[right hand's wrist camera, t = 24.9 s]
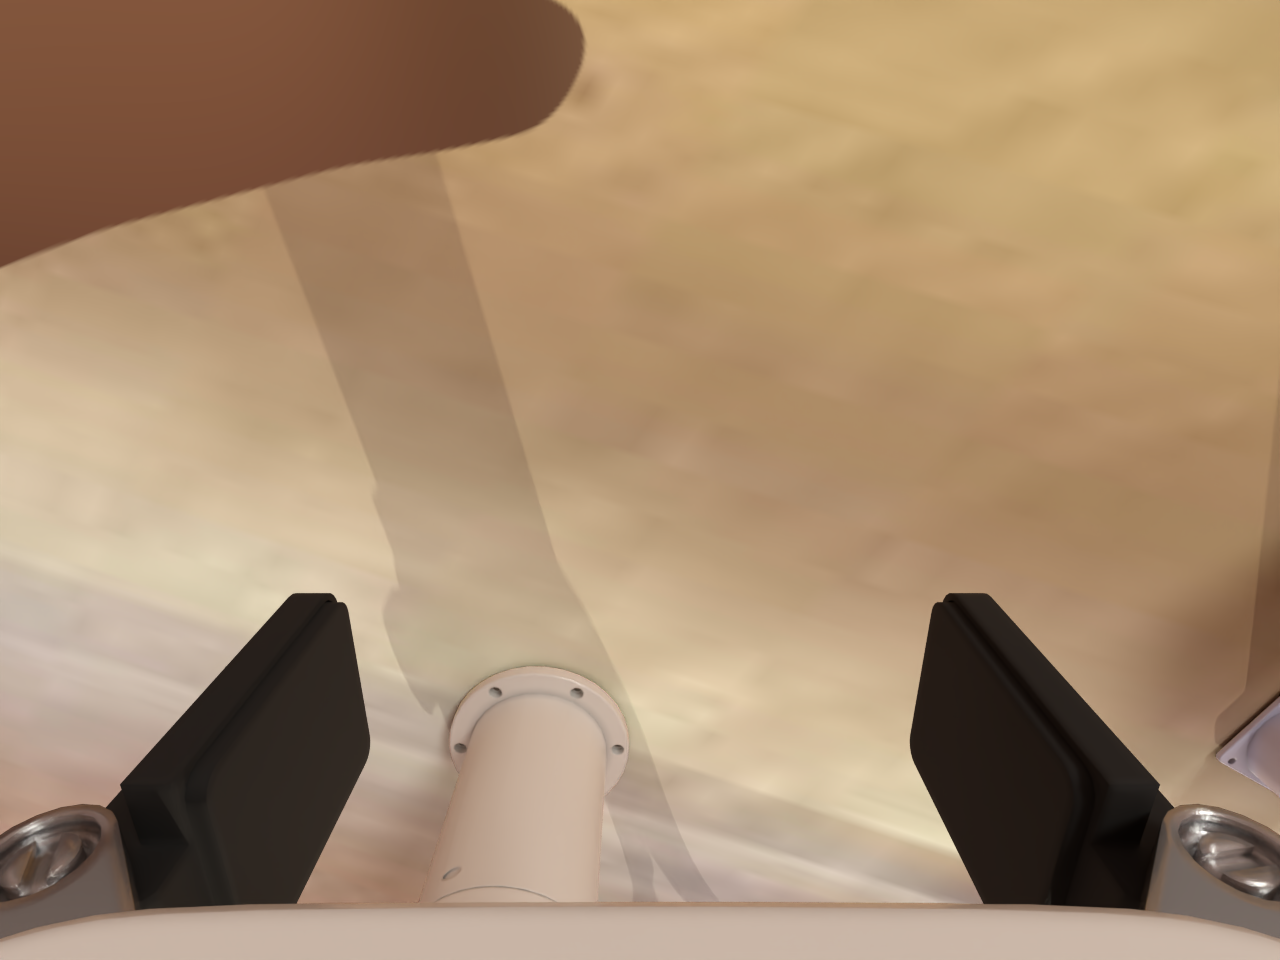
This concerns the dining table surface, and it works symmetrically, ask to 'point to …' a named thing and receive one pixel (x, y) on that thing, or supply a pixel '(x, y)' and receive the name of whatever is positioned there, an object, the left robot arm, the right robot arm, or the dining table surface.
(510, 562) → the dining table surface
